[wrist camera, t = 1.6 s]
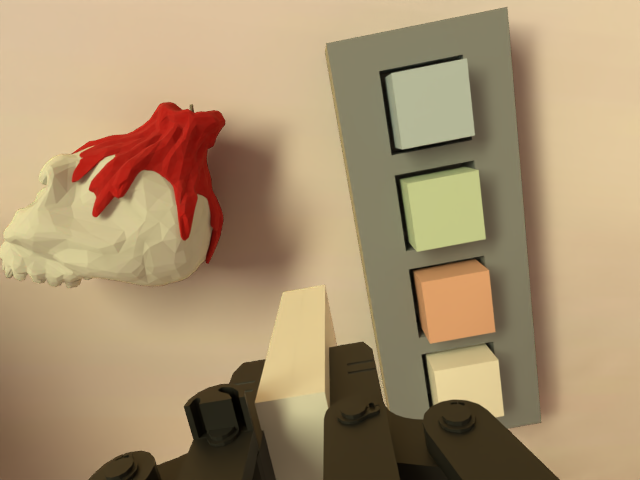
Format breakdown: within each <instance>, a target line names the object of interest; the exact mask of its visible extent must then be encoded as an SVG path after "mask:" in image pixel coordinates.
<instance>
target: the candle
mask: <svg viewBox="0 0 640 480" xmlns="http://www.w3.org/2000/svg"><path fill="white" fill-rule="evenodd" d="M224 125H225V119H224V117H223V116H222V114H221V113H220V112H219V111H215V110H213V111H207V112H202V111H201V112H196V113H194V110H193V104H192V105H190V110H189V109H186V110H182V109H180V108H179V107H178V106H177V105H176V104H174V103H171V102H167V103H162V104H160V105H159V106H158V107H157V109H156V111H155V112H154V114H153V115H152V117H151V118H150V120H149V121H147V122H146V123H145V124H144V125H142V126H141V127H139V128H138V129H136V130H135V131H133V132H131V133H128V134H123V135H112V136H108V137H105V138H102V139H99V140H96V141H89V142H88V143H86V144H85V145H83V146H82V147H80V148H79V149H78V150H76V151H75V152H73V153H72V154H61V155H58V156H55V157H53V158H51V159H50V160H49V161H48V162H47V163H46V164H45V165H44V167H43V169H42V170H41V172H40V175H39V181H40V182H41V183H42V184H44V185H46V187H45V188H43V189H42V190H41V191H40V192H38V193H37V197H36V200H35V201H34V202H33V203H32V204H30V205H29V206H27V207H26V208H22V209H19V210H18V211H17V212H16V214H15V216H14V218H13V220H12V222H11V223H10V224H9V226H8V227H7V228H6V230H5V231H4V233H3V234H4V239H5V241H4V242H3V244H2V245H1V246H0V258H1V259H2V268H3V270H4V271H5V275H6V278H11V277H12V276H13V275H14V278H15V279H17V280H19V281H22V280H25V278H26V275H27V274H29V276H30V277H31V279H32V281H33V282H35V283H39V284H40V283H44V282H45V281H46V279H47V281H48V283H49V285H51V286H54V287H57V286H60V285H61V284H62V282H65V283H66V286H67V288H72V287H77V286H78V285H80V282H81V279H82V278H83V279H85V280H89V279H92V278H101V279H108V280H115V281H122V282H126V283H131V284H136V285H142V286H153V287H154V286H163V285H166V284H169V283H172V282H178V281H181V280H184V279H186V278H187V277H189V276H190V275H191V274H192V273H194V272H195V271H196V270H197V269H198V267H199V266H200V264H201V263H202V262H203V261H204V260H205V259H206V260H205V261H206V263H207V264H209V261H210V259H211V257H212V255H213V253H214V251H215V249H216V246H217V243H218V241H219V238H220V235H221V230H222V225H223V213H222V210H221V207H220V205H219V203H218V200H217V198H216V196H215V194H214V192H213V190H212V182H211V176H210V173H209V170H208V165H207V150H208V149H209V148H211V147H213V146H214V143H215V141H216V137H217V136H218V134H219V132H220V131H221V129H222V128H223V126H224Z"/></svg>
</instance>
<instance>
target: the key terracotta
mask: <svg viewBox="0 0 640 480" xmlns="http://www.w3.org/2000/svg"><path fill="white" fill-rule="evenodd" d="M413 275H414V282H415V289H416V296H417V302H418V309H419V316H420V323H421V328H422V330H423V332H424V333H425V335H426V337H427V339H428V341H429V343H430V344H432V343H437V342H443V341H448V340H454V339H459V338H465V337H471V336H476V335H482V334H487V333H493V332H495V323H494V313H493V304H492V294H491V284H490V275H489V270H488V269H487V268H486V267H484V266H483V265H482V264H481V263H480V262H478V261H477V260H476V259H471V260H466V261H461V262H455V263H450V264H444V265H439V266H433V267H428V268H423V269H417V270H413Z"/></svg>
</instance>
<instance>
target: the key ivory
mask: <svg viewBox="0 0 640 480" xmlns="http://www.w3.org/2000/svg"><path fill="white" fill-rule="evenodd" d="M425 357H426V364H427V370H428V377H429V384H430V391H431V398H432V404H433V405H435V404H437V403H439V402H442V401H448V400H453V399H454V400H467V401H471V402H474V403H477V404H479V405H481V406H482V407H484V408H485V409H487V410H488V411H489V412H490V413H491V414H492V415H493V416H494V417H501V416H504V409H503V400H502V390H501V380H500V371H499V361H498V359H497V358H496V356H495V355H494V354H493V353H492V351H491V350H490V349H489V348H488V346H487V345H486V344H485V343H483V344H477V345H471V346H466V347H460V348H454V349H449V350H443V351H438V352H432V353H426V354H425Z"/></svg>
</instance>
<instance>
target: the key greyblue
mask: <svg viewBox="0 0 640 480" xmlns="http://www.w3.org/2000/svg"><path fill="white" fill-rule="evenodd" d="M385 85H386V92H387V98H388V105H389V112H390V119H391V126H392V132H393V139H394V146H395V148H398V149H407V148H412V147H418V146H423V145H428V144H433V143H438V142H443V141H449V140H454V139H459V138H464V137H469V136H475V131H474V121H473V111H472V102H471V92H470V83H469V73H468V63H467V58H466V59H461V60H455V61H450V62H445V63H440V64H435V65H430V66H425V67H420V68H415V69H410V70H405V71H400V72H395V73H391V74H390V75H388V76H387V77H385Z"/></svg>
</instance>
